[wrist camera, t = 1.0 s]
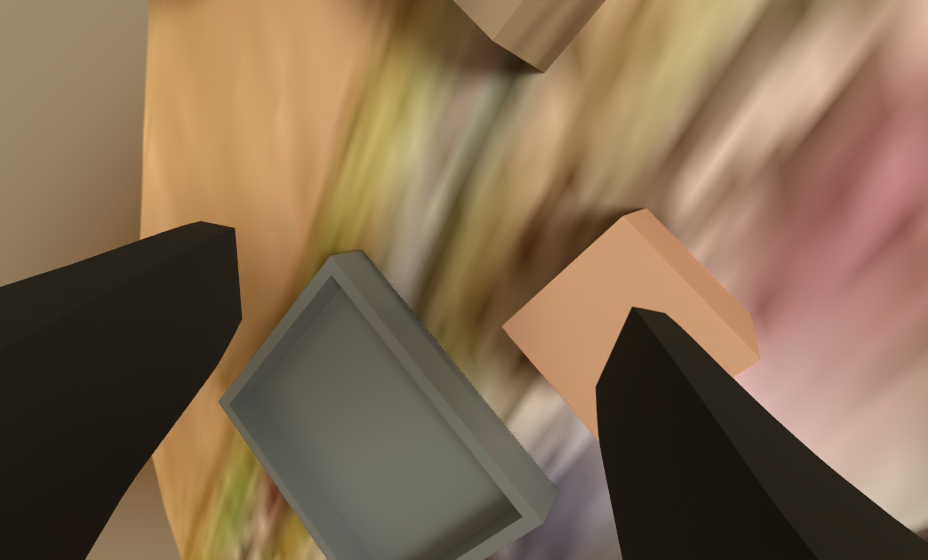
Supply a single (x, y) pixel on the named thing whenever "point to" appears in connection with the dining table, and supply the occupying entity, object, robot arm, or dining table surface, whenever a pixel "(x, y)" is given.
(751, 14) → the dining table surface
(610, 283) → the terracotta block
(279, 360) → the tray
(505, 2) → the oak block
